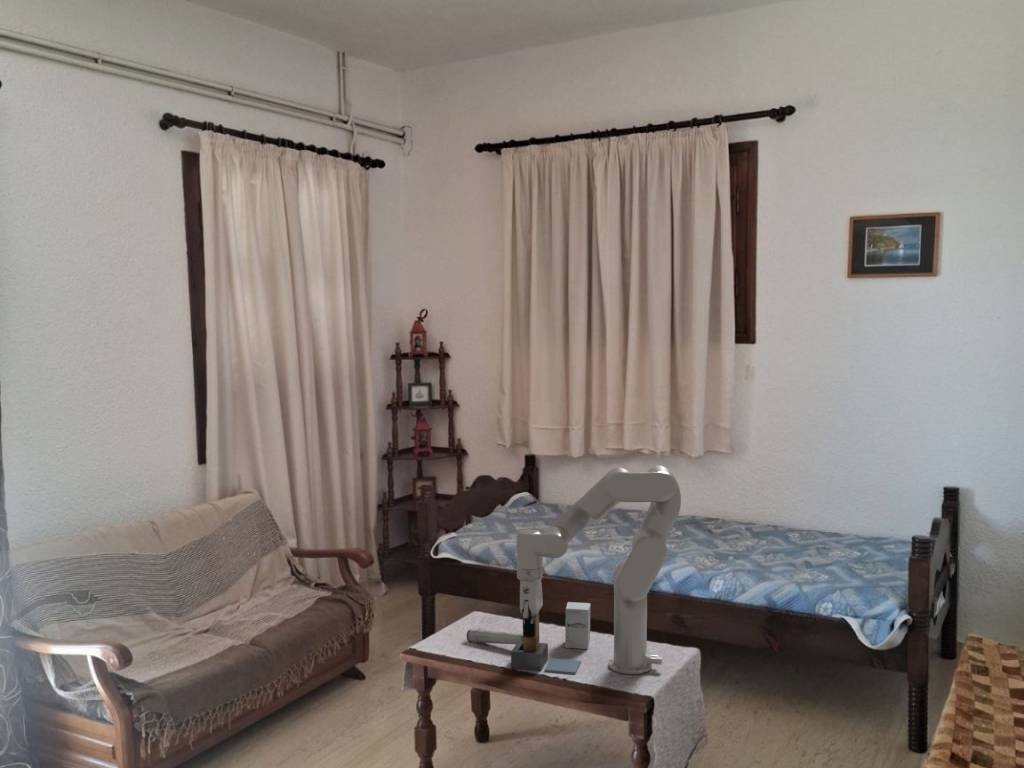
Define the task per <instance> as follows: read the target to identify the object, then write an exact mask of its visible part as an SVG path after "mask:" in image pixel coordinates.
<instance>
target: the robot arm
mask: <svg viewBox="0 0 1024 768" xmlns="http://www.w3.org/2000/svg"><path fill="white" fill-rule="evenodd" d="M620 503H650V504H649V507H648V509H647V511H646V513H645V516H644V518H643V519H642V521H641V523H640V525H639V526H638V528H637V530H636V532H635V533H634V535H633V536H632V539H631V551H630V552H629V555H628V556H627V558H624V559H622V560H620V561H619V562H618V563H617V565H616V566H615V568H614V571H613V657H611V658H609V660H608V668H609V669H611V670H612V671H614V672H617V673H619V674H623V675H624V674H625V675H640V674H641V675H642V674H646V673H648V672H650V671H651V670H652V669H653V668H652V667H653V665H658V666H660V665H662V664H663V657H659V655H656V654H653V655H652V654H651V653H649V652H650V651H649V649H648V648H647V647H648V646H647V645H648V644H647V642H648V641H647V640H648V639H647V637H648V636H647V634H648V633H647V632H648V630H647V629H648V627H647V625H648V624H647V623H648V622H647V621H648V594H649V592H650V590H651V588H652V586H653V584H654V582H655V581H656V578H657V577H658V575H659V573H660V571H661V569H662V568H663V566H664V563H665V560H666V558H667V554H668V548H667V541H668V539H669V536H670V534H671V533H672V530H673V528H674V525H675V524H676V522H677V519H678V517H679V514H680V511H681V504H682V495H681V489H680V485H679V483H678V481H677V480H676V478H675V476H674V474H673V473H672V472H671V470H670V469H669V468H667V467H666V466H663V465H655V466H654V465H653V466H652V467H650V468H649V469H647V471H645V472H641V471H640V472H630V471H629V470H628V469H625V468H623V467H620V466H619V467H614V468H612V469H610V470H609V471H608V472H606V474H604V476H603V477H601V478H600V479H599V480H598V481H597V482H596V483H595V484H594V485H593V486H592V487H591V488H590V489H589V490H587V491H586V493H585V494H583V496H581V498H579V499H578V500H576V502H575V503H573V504H572V505H571V506H570V507H569V508H568V509H567V510H565V511H564V512H563V513H562V514H561V515H560V516H559V517H558V518H557V519H555V521H554V522H552V523H551V525H549V526H548V527H547V528H546V530H545V532H544V533H541V532H540V531H539V530H537V529H522V530H519V531H518V532H517V534H516V543H515V544H516V578H517V579H518V580H519V582H520V583H519V611H520V613H521V614H522V626H523V625H524V637H534V636H535V623H533V619H534V614H535V615H536V614H537V613H538V612H540V610H541V609H542V608H543V605H544V602H543V601H544V600H543V586H542V585H543V584H542V579H543V575H544V574H543V573H544V571H543V564H544V563H543V557H544V558H549V559H560V558H562V557H563V556H565V555H566V553H567V551H568V548H569V542H571V541H572V540H573V539H574V538H575V537H576V536H578V534H579V533H581V531H583V530H584V529H585V528H587V527H588V526H590V525H593V524H597V523H598V522H600V521H601V520H603V518H605V517H606V515H608V514H609V513H610V512H611V511H612V510H613V509H614V508H615V507H616V506H617V505H618V504H620ZM529 611H531V612H532V613H529ZM529 615H531V618H530V617H529ZM523 619H524V620H523ZM645 672H646V673H645Z"/></svg>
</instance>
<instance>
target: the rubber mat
mask: <svg viewBox="0 0 1024 768" xmlns="http://www.w3.org/2000/svg"><path fill="white" fill-rule="evenodd" d="M546 664H547V665H546V666H545V668H544V672H548V673H557V674H565V675H566V674H568V675H576V674H577V672H578V670H579V668H580V666H581V664H582V660H575V659H566V658H554V657H552V658H551V657H550V659H549V660H548V663H546Z"/></svg>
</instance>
